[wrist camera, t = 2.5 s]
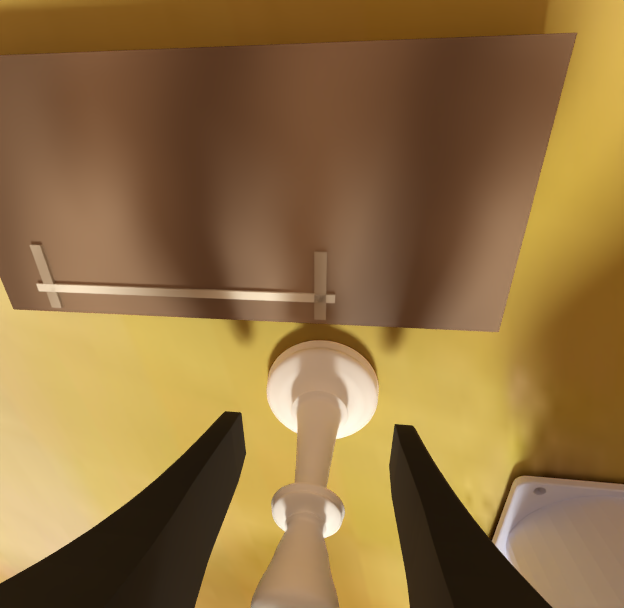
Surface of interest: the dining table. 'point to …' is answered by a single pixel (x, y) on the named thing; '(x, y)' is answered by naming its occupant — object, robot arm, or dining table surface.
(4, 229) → the walnut board
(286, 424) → the chess piece
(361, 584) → the dining table surface
